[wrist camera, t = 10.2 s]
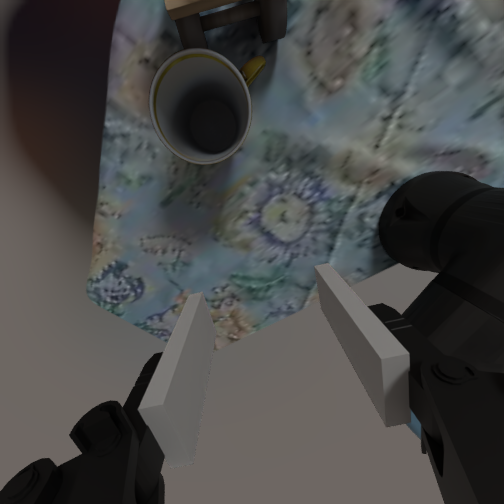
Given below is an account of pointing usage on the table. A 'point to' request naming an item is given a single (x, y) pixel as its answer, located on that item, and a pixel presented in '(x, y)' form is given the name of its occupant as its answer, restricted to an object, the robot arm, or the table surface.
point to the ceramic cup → (202, 104)
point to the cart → (226, 18)
